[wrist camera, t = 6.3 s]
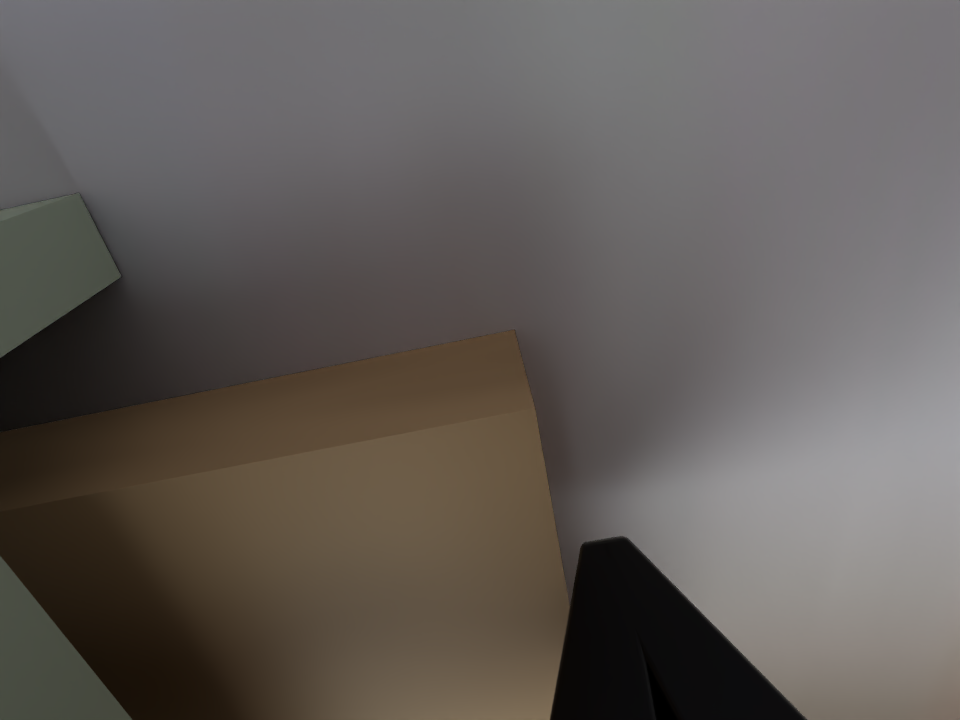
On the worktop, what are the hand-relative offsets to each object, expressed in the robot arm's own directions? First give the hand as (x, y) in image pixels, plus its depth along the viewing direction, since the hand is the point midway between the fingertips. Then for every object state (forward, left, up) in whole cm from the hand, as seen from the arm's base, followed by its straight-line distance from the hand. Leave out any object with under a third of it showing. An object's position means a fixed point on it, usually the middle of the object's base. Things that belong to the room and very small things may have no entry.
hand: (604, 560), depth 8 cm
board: (0, +6, -1) cm, 6 cm away
